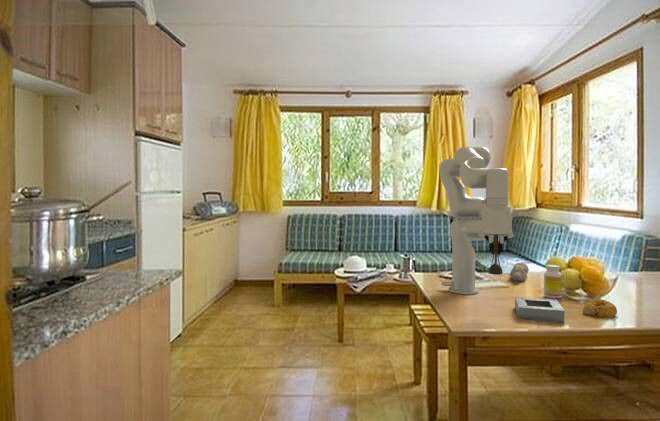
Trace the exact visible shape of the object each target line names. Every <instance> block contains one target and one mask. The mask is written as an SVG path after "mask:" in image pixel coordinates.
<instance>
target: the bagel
mask: <svg viewBox="0 0 660 421" xmlns="http://www.w3.org/2000/svg"><path fill="white" fill-rule="evenodd" d="M582 313H583V314H584V315H586V316H592V317H596V316H597V317H600V318H614V317H615V316H617V313H618V309H617V306H616V305H615V304H614V303H612V302H610V301H608V300H605V299H600V298H599V299H597V298H596V299H592V300H590V301H588V302H586V304H585V305H584V306H583V308H582Z"/></svg>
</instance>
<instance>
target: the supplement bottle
mask: <svg viewBox="0 0 660 421" xmlns="http://www.w3.org/2000/svg"><path fill="white" fill-rule="evenodd" d="M543 296H544V297H545V298H546V299H554V300H557V299H561V298H562V296H563V274H562V273H561V271H560V265H554V264H547V265H546V271H545V272H544V273H543Z"/></svg>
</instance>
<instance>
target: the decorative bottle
mask: <svg viewBox="0 0 660 421" xmlns="http://www.w3.org/2000/svg"><path fill="white" fill-rule="evenodd" d="M529 270H530V269H529V267H528V265H527V264H526V263H523V262H517V263H515V264H514V265H513V268H512V269H511V271H510V273H509V276H510V278H511V279H512V280H513V281H516V282H523V281H524V280H526V278H527V275H528V273H529V272H530V271H529Z"/></svg>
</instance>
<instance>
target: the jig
mask: <svg viewBox="0 0 660 421" xmlns="http://www.w3.org/2000/svg"><path fill="white" fill-rule="evenodd" d="M514 310H515V311H516V315H517V318H518V320H526V321H541V322H555V323H565V309H564V308H563V306H562V305H561V303H560V302H559V301H558V300H557V299H551V298H531V297H520V296H519V297H517V296H516V297H514Z"/></svg>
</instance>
